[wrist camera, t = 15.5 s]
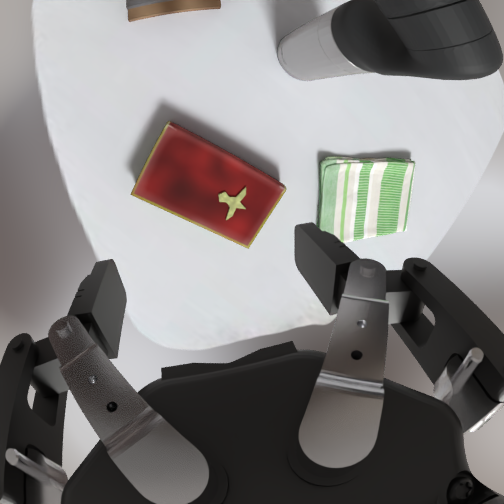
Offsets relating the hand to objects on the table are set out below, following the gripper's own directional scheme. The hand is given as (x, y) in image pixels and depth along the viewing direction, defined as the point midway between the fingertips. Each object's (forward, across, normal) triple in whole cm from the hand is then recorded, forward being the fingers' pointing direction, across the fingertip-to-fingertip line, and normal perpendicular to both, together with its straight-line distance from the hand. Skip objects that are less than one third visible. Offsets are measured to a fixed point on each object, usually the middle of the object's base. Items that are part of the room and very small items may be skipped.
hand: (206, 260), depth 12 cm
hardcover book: (+34, -2, +6) cm, 34 cm away
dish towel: (+34, -33, +12) cm, 49 cm away
